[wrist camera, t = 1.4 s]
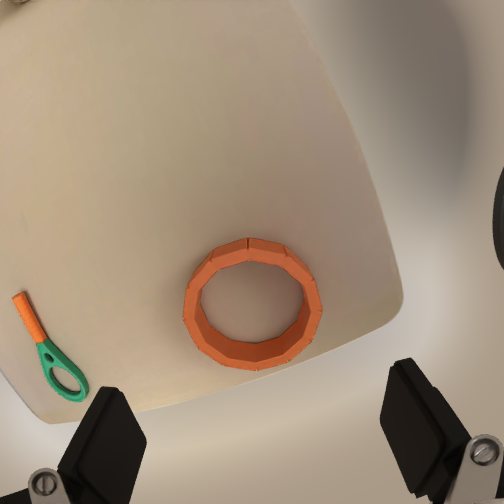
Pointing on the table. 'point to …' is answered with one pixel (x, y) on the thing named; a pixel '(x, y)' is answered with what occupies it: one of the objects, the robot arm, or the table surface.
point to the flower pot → (17, 1)
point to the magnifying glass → (49, 352)
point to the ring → (242, 352)
